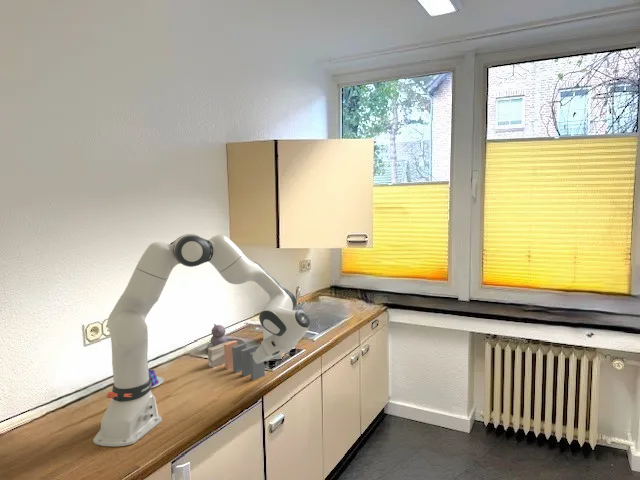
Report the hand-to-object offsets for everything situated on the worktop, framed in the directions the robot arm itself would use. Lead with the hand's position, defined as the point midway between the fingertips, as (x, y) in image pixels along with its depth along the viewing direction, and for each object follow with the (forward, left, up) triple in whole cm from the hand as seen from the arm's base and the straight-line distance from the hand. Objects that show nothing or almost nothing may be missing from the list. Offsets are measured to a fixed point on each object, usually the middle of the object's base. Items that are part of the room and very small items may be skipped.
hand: (267, 359), depth 180 cm
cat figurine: (+34, +32, -10) cm, 48 cm away
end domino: (+14, +20, -10) cm, 26 cm away
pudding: (-4, +49, -10) cm, 51 cm away
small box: (+26, +1, -10) cm, 28 cm away
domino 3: (+4, +5, -10) cm, 12 cm away
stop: (+18, +26, -10) cm, 33 cm away
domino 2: (+7, +10, -10) cm, 16 cm away
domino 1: (+10, +15, -10) cm, 21 cm away
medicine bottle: (+48, +9, -10) cm, 50 cm away
